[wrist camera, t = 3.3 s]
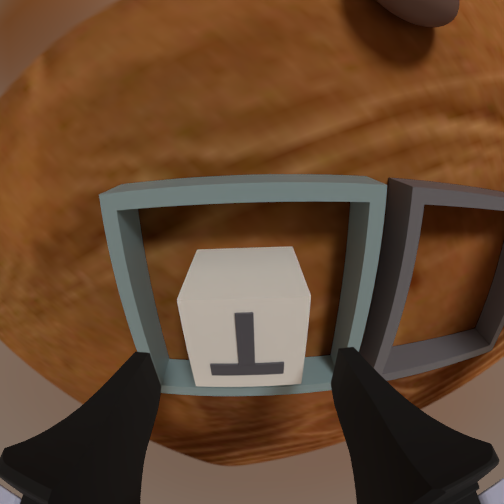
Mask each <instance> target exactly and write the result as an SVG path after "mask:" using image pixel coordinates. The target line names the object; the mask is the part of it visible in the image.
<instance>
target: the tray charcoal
mask: <svg viewBox="0 0 504 504" xmlns="http://www.w3.org/2000/svg"><path fill="white" fill-rule="evenodd" d="M424 204H425V205H442V206H456V207H468V208H480V209H491V210H500V211H504V192H501V191H495V190H489V189H483V188H477V187H470V186H463V185H456V184H448V183H440V182H431V181H421V180H411V179H399V178H389V185H388V197H387V208H386V217H385V226H384V234H383V241H382V248H381V255H380V261H379V267H378V273H377V279H376V284H375V289H374V294H373V299H372V304H371V308H370V313H369V317H368V322H367V326H366V330H365V334H364V338H363V342H362V346H361V349H360V354H361V355H362V356H363V357H364V358H365V360H366V361H367V362H368V363H369V364H370V365H371V366H372V367H373V368H374V369H375V370H376V371H377V372H378V373H379V374H380V375H381V376H382V377H383V378H384V379H385V380H386V381H388V380H393V379H398V378H402V377H406V376H411V375H415V374H419V373H423V372H426V371H430V370H434V369H437V368H441V367H444V366H448V365H451V364H454V363H457V362H460V361H463V360H466V359H469V358H472V357H475V356H478V355H481V354H483V353H486V352H489V351H491V350H492V348H493V347H494V345H495V343H496V340H497V338H498V336H499V334H500V332H501V330H502V328H503V326H504V242H503V247H502V251H501V254H500V258H499V262H498V266H497V269H496V272H495V276H494V279H493V282H492V285H491V288H490V291H489V294H488V297H487V300H486V302H485V305H484V308H483V310H482V313H481V315H480V318H479V320H478V323H477V325H476V328H474V329H471V330H467V331H463V332H459V333H455V334H451V335H447V336H443V337H439V338H434V339H429V340H425V341H420V342H415V343H410V344H404V345H399V346H393V347H392V345H393V342H394V339H395V336H396V332H397V329H398V326H399V323H400V319H401V316H402V312H403V309H404V305H405V302H406V298H407V294H408V290H409V286H410V282H411V277H412V273H413V268H414V264H415V259H416V254H417V249H418V243H419V237H420V231H421V225H422V218H423V211H424Z"/></svg>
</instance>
